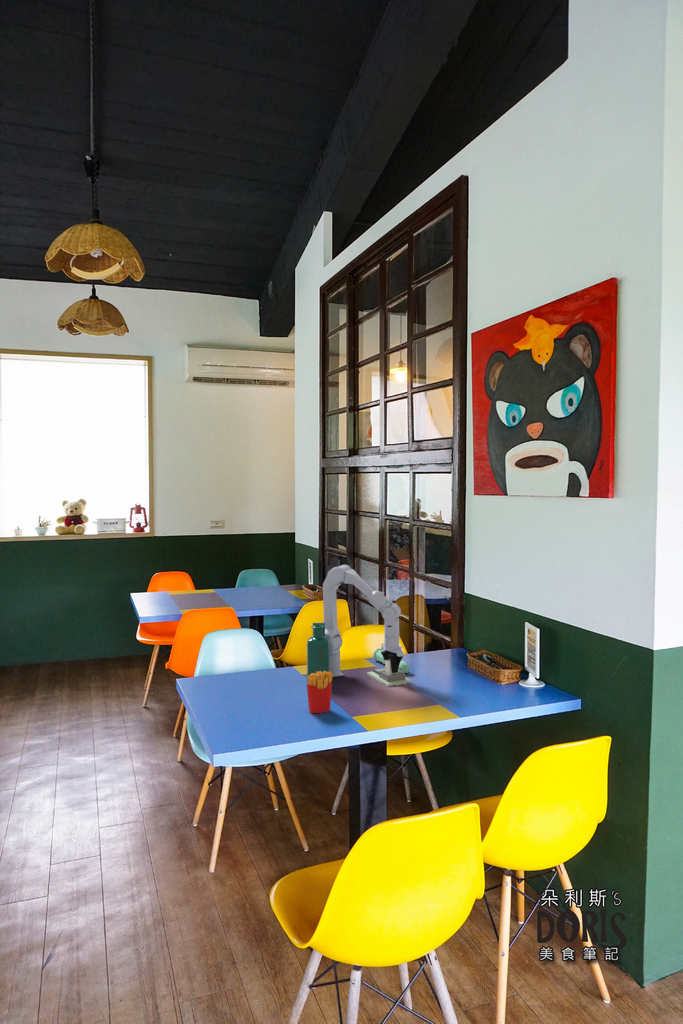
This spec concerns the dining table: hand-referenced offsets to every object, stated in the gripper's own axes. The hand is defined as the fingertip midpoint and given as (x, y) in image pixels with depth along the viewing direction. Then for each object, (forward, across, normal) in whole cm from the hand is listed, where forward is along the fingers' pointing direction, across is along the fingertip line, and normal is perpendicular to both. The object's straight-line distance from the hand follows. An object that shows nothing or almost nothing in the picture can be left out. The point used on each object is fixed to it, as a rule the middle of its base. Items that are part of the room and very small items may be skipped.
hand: (392, 671), depth 264 cm
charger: (+2, 0, 0) cm, 2 cm away
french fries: (+4, -22, +38) cm, 44 cm away
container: (+4, +18, -9) cm, 21 cm away
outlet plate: (+4, +3, 0) cm, 5 cm away
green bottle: (+4, +11, +26) cm, 29 cm away
